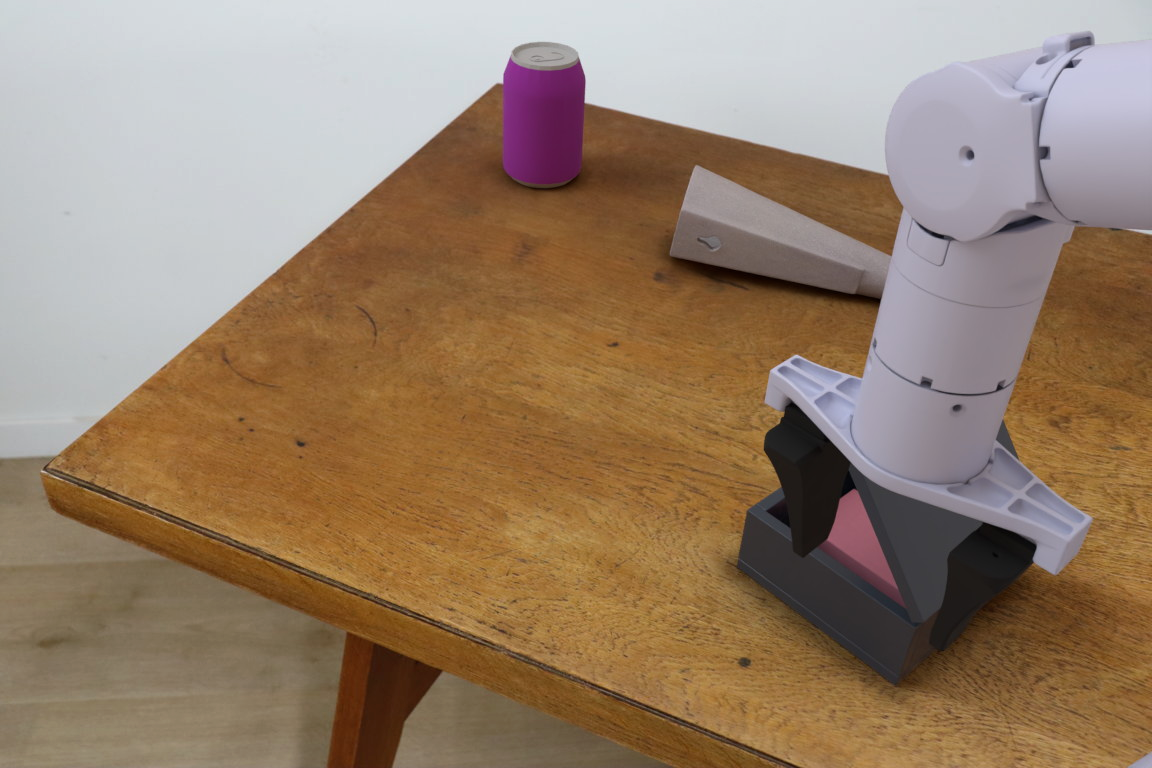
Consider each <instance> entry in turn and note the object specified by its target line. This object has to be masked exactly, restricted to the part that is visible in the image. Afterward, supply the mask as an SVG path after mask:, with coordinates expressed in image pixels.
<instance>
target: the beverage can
mask: <svg viewBox="0 0 1152 768" xmlns="http://www.w3.org/2000/svg"><path fill="white" fill-rule="evenodd" d="M503 71H504V72H503V77H502V78H503V79H502V165H503V170H504V171H505V173H506V174H507V175H508V176H509V177H510V178H511V179H512V180H514V181H515V182H517V183H518V184H521V185H523V186H526V187H529V188H534V189H535V188H536V189H550V188H551V189H552V188H558V187H561V186H564V185H566V184H568V183H569V182H571V181H573V180H574V178H576V177H577V176H578V175H579V174H580V172H581V170H582V169H581V168H582V165H583V147H584V146H583V144H584V142H583V141H584V123H585V101H586V85H587V83H586V82H587V81H586V74H585V72H584V67H583V65H582V62H581V59H580V56H579V52H578V50H576V49H575V48H573V47H571V46H569V45H566V44H564V43H560V42H553V41H531V42H526V43H522V44H519V45H516V46H515V47H514V48H513V49H512V50H511V53H510V56H509V59H508V61H507V64H506V67H505V69H504V70H503Z"/></svg>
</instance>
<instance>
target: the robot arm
mask: <svg viewBox="0 0 1152 768" xmlns="http://www.w3.org/2000/svg"><path fill="white" fill-rule="evenodd" d="M1095 41H1096V40H1095V35H1094V33H1093V32H1092V31H1091V30H1082V31H1073V32H1072V31H1071V32H1066V33H1061V34H1056V35H1051V36H1048V37H1046V38H1045V39H1044V40H1043V42H1042V45H1041V46H1037V47H1032V48H1027V49H1022V50H1018V51H1012V52H1008V53H1003V54H997V55H993V56H988V57H984V58H979V59H975V60H969V61H961V60H960V61H952V62H949V63H947V64H945V65H944V66H943V67H940V68H938V69H936V70H933V71H929V72H926V73H924V74H922V75H919V76H918V77H916V78H915V79H913V80H912V81H911V82H909V83H908V84H907V85H906V87H904V88H903V90H902V91H901V92H900V94H899V95H898V97H897V98H896V100H895V102H894V103H893V106H892V108H891V110H890V113H889V116H888V120H887V123H886V128H885V135H884V157H885V158H884V159H885V164H886V170H887V174H888V178H889V181H890V184H891V186H892V189H893V191H894V193H895V196H896V198H897V199H898V201H899V202H900V205H902V207H903V208H902V211H901V216H900V219H899V224H898V228H897V233H896V236H895V239H894V240H895V241H894V244H893V249H892V255H891V256H892V258H891V262H890V266H889V270H888V274H887V278H886V283H885V287H884V291H883V295H882V299H880V303H879V308H878V311H877V316H876V320H875V324H874V329H873V333H872V337H871V340H870V345H869V349H868V354H867V358H866V361H865V366H864V370H863V374H862V377H858V376H855V375H851V374H848V373H845V372H841V371H838V370H835V369H832V368H830V367H826V366H823V365H821V364H818V363H816V362H813V361H811V360H809V359H807V358H805V357H803V356H800V355H799V354H794V355H792V356H791V357H790V358H788V359H786V360H784V361H782V362H781V363H779V364H778V365H776V366H775V367H773V368H771V369H770V370H769V374H768V380H767V385H766V392H765V397H764V404H765V405H767V406H769V407H771V408H772V409H774V410H776V411H778V412H780V413H783V416H782V417H781V418H780V420H779V423H777V424H776V425H775V426H773V427H771V428H770V429H769V430H768V431H767V432H766V433H765V435H764V440H763V452H764V454H765V455H766V456H767V458H768V460H769V461H770V464H771V465H772V467H773V470H774V471H775V474H776V476H777V478H778V481H779V483H780V487H782V490H783V493H784V496H785V500H786V505H787V509H788V515H789V521H790V528H791V537H792V546H793V552H794V553H796V554H797V555H799V556H800V557H802V558H804V557H805V556H807V555H808V554H809V553H810V552H812V551H813V550H814V549H815V548H817V547H818V546H819V545H821V544H822V543H823V542H824V541H826V540H827V539H828V537H829V535H830V532H831V530H832V527H833V524H834V522H835V518H836V514H837V510H838V505H839V501H840V497H841V492H842V488H843V484H844V480H845V477H846V475H847V472H848V469H849V466H850V464H851V463H852V464H853V465H854V466H855V467H856V468H857V469H858V470H859V471H860V472H861V473H862V474H863V475H865V476H866V477H867V478H869V479H870V480H871V481H873V482H875V483H876V484H878V485H880V486H882V487H884V488H886V489H888V490H890V491H893V492H895V493H898V494H901V495H904V496H907V497H910V498H913V499H916V500H919V501H922V502H925V503H928V504H931V505H934V506H937V507H940V508H943V509H946V510H949V511H952V512H955V513H958V514H961V515H964V516H967V517H970V518H973V519H976V520H979V521H982V522H983V523H982V525H981V526H980V527H979V528H978V529H977V530H976V531H973V532H972V533H971V534H970V535H969V536H967V537H966V538H965V539H964V540H963V541H962V542H961V543H960V544H958V545H957V546H956V547H955V548H954V549H953V550H952V551H951V552H950V553H949V555H948V558H947V565H948V573H947V583H946V589H945V594H944V599H943V603H942V606H941V608H940V610H939V613H938V615H937V617H936V620H935V622H934V624H933V627H932V629H931V632H930V637H929V644H930V645H932V646H933V647H934V648H936V651H939V652H945V651H946V650H947V649H948V648H949V647H950V646H951V645H952V644H953V643H954V642H956V640H957V639H958V638H959V637H960V636H961V635H963V633H964V632H965V631H966V629H967V628H968V626H969V625H970V622H971V621H972V619H973V617H974V616H975V615H976V614H977V613H978V612H977V610H978V609H979V608H980V606H981V605H982V604H983V603H984V602H986V601H988V600H989V599H991V598H992V599H994V598H995V597H996V596H999V594H1001V593H1002V592H1003V591H1005V590H1006V589H1008V588H1010V586H1011V585H1013V584H1014V583H1015V582H1016V581H1017V580H1018V579H1019V578H1020V577H1021V576H1022V575H1023V574H1024V573H1025V572H1026V571H1027V570H1028V569H1030V567H1032V565H1033V564H1036V566H1038V567H1039V568H1041V569H1043V570H1045V571H1046V572H1048V573H1050V574H1052V575H1053V576H1057V575H1058V574H1059V573H1060V572H1062V570H1063V569H1064V568H1065V567H1067V565H1068V564H1069V563H1070V562H1071V561H1072V560H1073V559H1074V558H1075V557H1076V556H1077V555H1078V554H1079V553H1080V550H1081V548H1082V546H1083V543H1084V541H1085V539H1086V537H1087V534H1088V532H1089V530H1090V527H1091V525H1092V523H1093V521H1094V518H1093V517H1092V516H1091V515H1089V514H1087V513H1086V512H1084V511H1082V510H1081V509H1079V508H1078V507H1076V506H1074V505H1073V504H1071V503H1070V502H1068V501H1067V500H1065V499H1064V498H1063V497H1062V496H1060V495H1059V494H1058V493H1057V492H1056V491H1054V490H1053V489H1052V488H1050V486H1048V485H1047V484H1046V483H1045V482H1044V481H1043V480H1041V478H1039V476H1037V475H1036V474H1035V473H1034V472H1033V471H1031V470H1030V469H1029V468H1028V467H1027V466H1026V465H1025V464H1023V462H1021V461H1019V460H1020V459H1019V460H1018V459H1017V458H1016V457H1014V456H1013V455H1012V454H1011V453H1010V452H1009V451H1008V450H1007V449H1005V448H1004V447H1003V446H1002V445H1001V444H1000V443H999V442H998V441H996V437H997V434H998V431H999V428H1000V426H1001V423H1002V420H1004V417H1005V414H1006V411H1007V408H1008V405H1009V402H1010V399H1011V397H1012V394H1013V391H1014V387H1015V385H1016V381H1017V379H1018V376H1019V372H1020V370H1021V367H1022V364H1023V361H1024V358H1025V355H1026V352H1027V349H1028V347H1029V344H1030V341H1031V338H1032V335H1033V333H1034V329H1035V326H1036V323H1037V321H1038V318H1039V315H1040V312H1041V309H1042V306H1043V303H1044V301H1045V298H1046V294H1047V292H1048V289H1049V285H1050V283H1051V280H1052V277H1053V275H1054V271H1055V268H1056V265H1057V263H1058V260H1059V257H1060V254H1061V251H1062V248H1063V246H1064V244H1066V243H1069V242H1070V241H1071V238H1072V236H1073V232H1074V230H1075V227H1085V228H1086V227H1088V228H1103V229H1120V230H1121V229H1123V230H1138V231H1152V38H1149V39H1140V40H1130V41H1129V40H1128V41H1120V42H1110V43H1100V44H1096V43H1095ZM992 599H991V600H992ZM976 612H977V613H976ZM975 613H976V614H975ZM974 614H975V615H974ZM1126 768H1152V751H1150V752H1149V753H1147V754H1145V755H1144V756H1142V757H1141V758H1139V759H1138V760H1136V761H1134V762H1133V763H1132V764H1130V765H1128V766H1127V767H1126Z"/></svg>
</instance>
